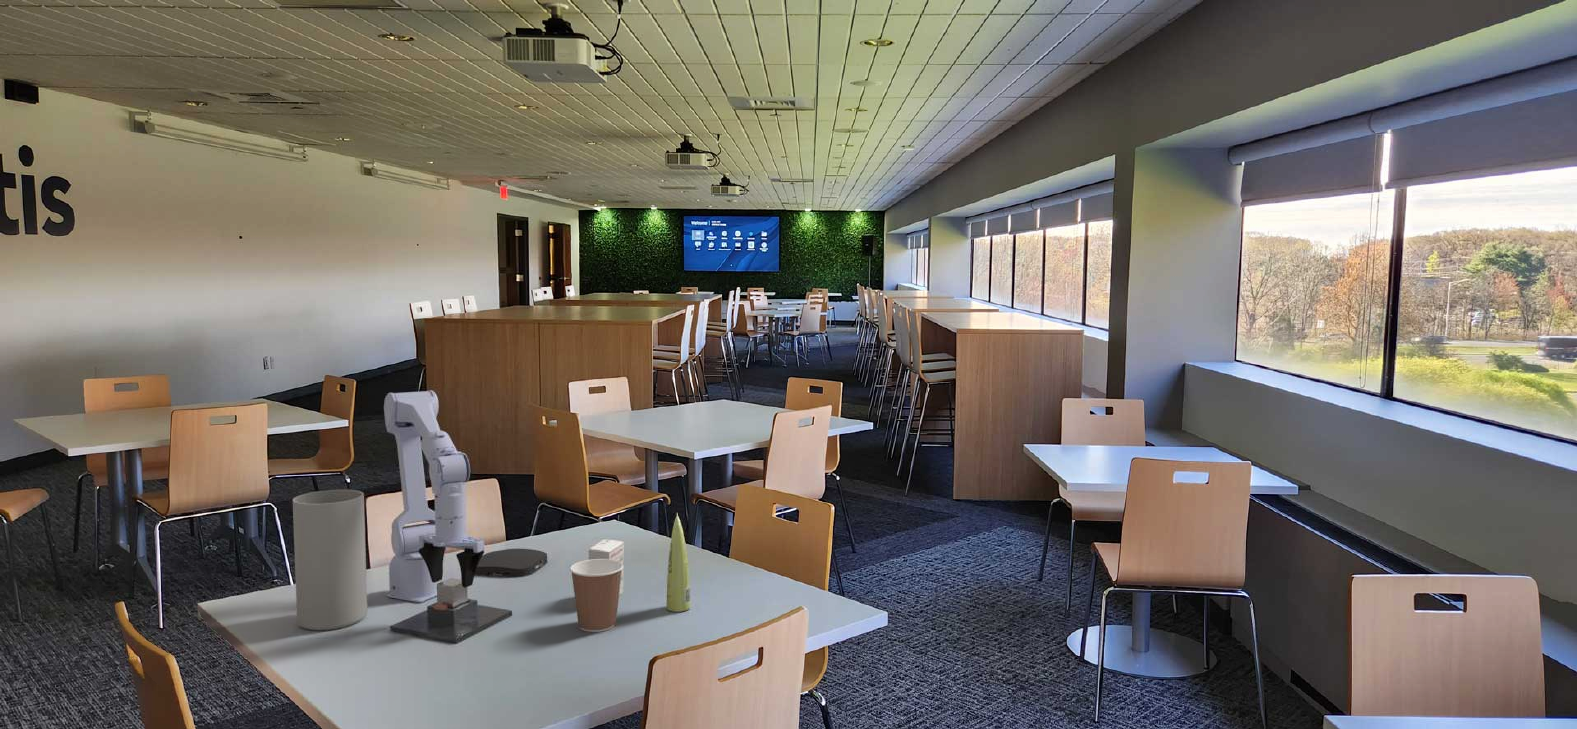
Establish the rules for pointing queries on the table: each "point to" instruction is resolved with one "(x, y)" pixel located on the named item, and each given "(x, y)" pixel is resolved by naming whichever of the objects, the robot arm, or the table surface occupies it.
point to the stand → (451, 621)
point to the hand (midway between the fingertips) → (452, 583)
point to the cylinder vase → (330, 559)
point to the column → (451, 593)
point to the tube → (678, 571)
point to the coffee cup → (596, 593)
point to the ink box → (609, 553)
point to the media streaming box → (511, 563)
